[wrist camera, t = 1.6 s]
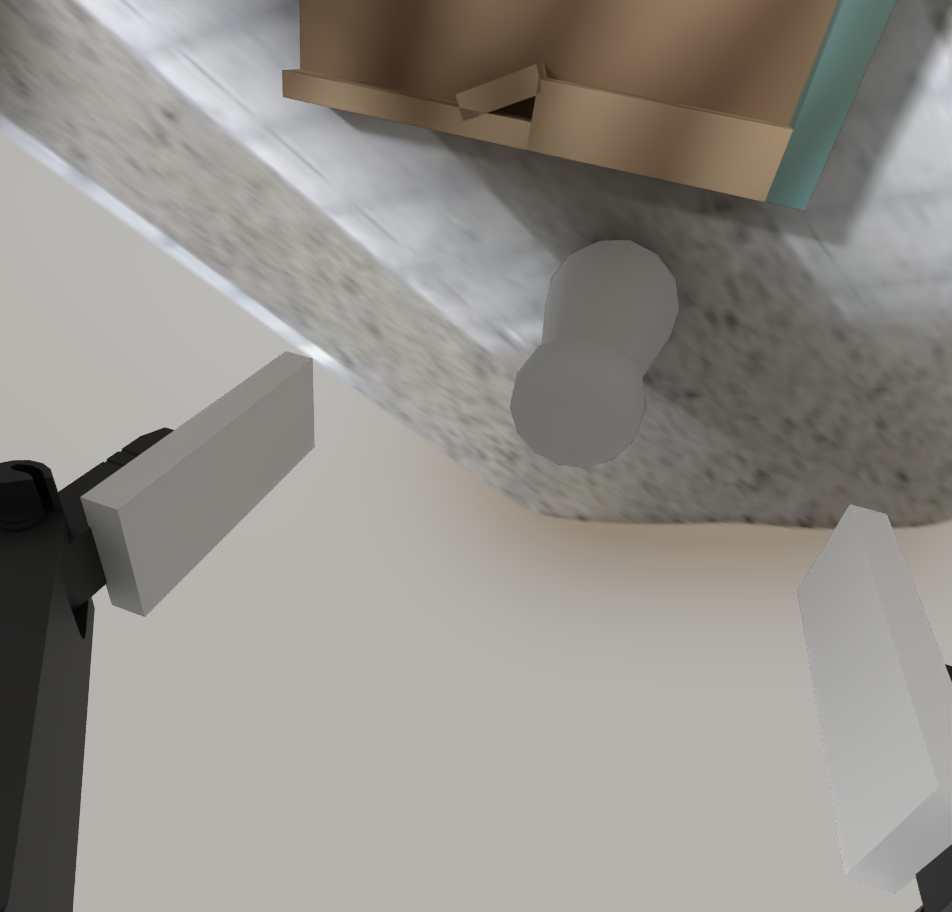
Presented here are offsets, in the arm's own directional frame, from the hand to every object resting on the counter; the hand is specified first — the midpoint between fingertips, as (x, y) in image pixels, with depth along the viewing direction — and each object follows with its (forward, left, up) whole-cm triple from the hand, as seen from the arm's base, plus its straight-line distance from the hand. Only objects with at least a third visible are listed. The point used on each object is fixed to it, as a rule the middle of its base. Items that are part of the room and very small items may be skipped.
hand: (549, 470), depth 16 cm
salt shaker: (0, -1, -18) cm, 18 cm away
